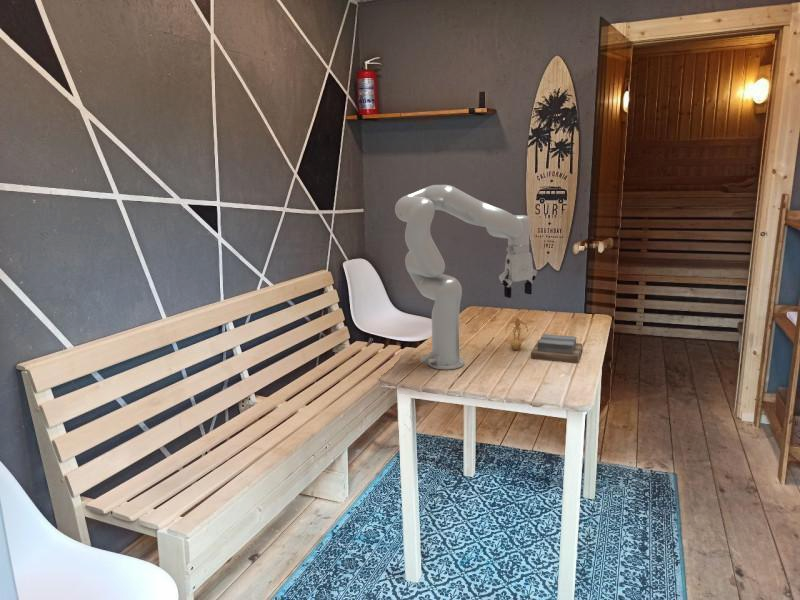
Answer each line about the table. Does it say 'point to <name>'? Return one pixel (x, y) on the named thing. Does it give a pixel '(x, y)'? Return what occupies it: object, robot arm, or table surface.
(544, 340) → the display stand
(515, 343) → the figurine
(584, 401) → the table surface
